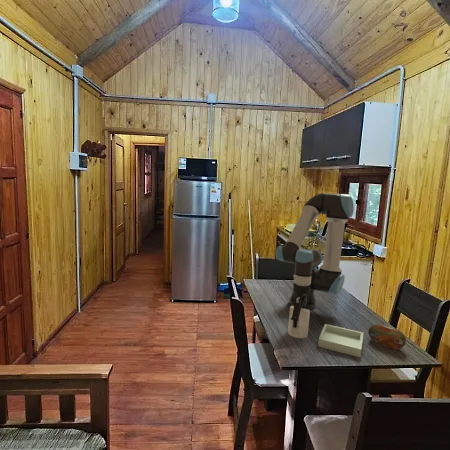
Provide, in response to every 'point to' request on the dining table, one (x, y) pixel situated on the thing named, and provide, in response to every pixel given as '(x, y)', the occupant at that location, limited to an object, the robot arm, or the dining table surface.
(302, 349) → the dining table surface
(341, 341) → the bin
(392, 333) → the tin
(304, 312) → the base with upright slab
